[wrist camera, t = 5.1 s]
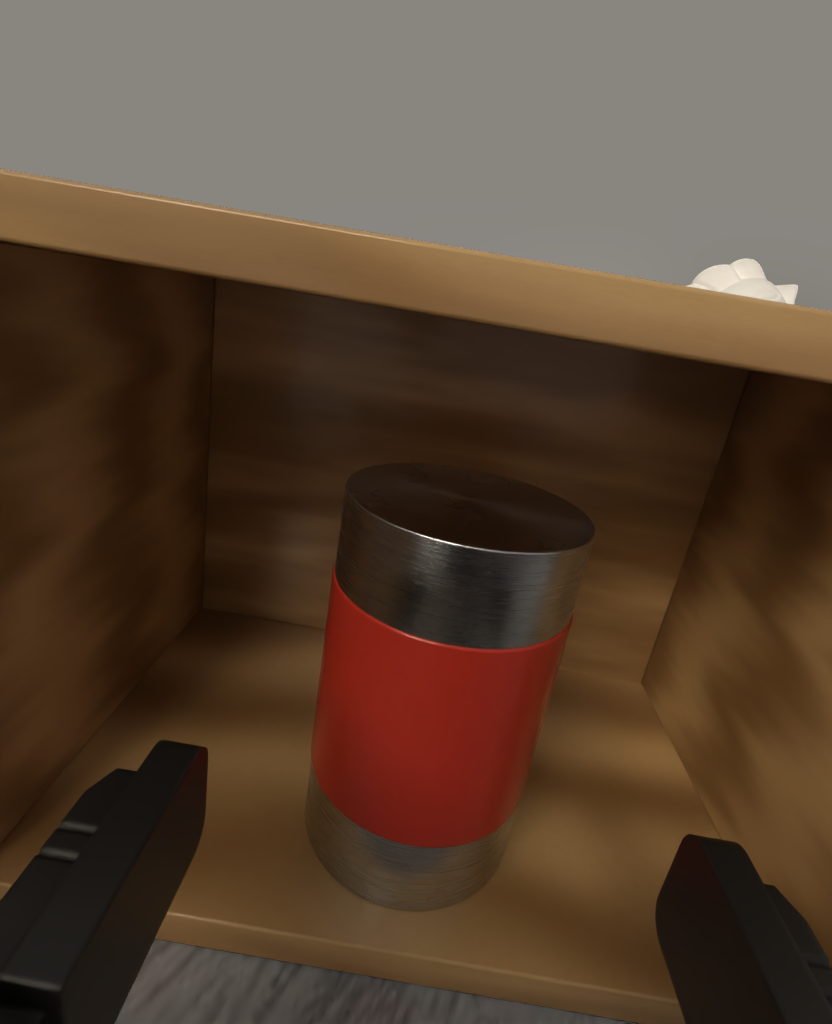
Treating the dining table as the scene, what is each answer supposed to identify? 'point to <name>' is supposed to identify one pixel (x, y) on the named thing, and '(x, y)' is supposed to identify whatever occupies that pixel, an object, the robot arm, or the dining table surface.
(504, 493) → the can
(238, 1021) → the dining table surface
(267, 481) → the cupboard
